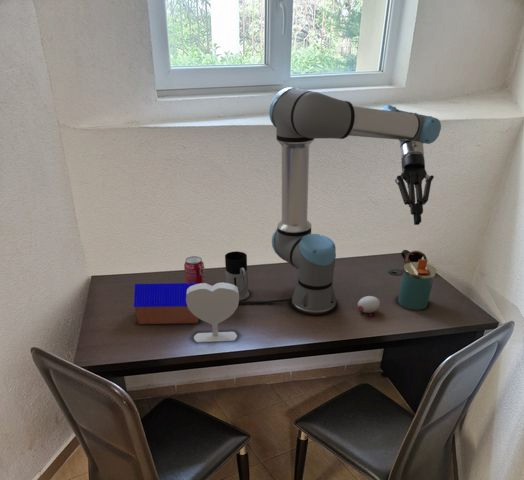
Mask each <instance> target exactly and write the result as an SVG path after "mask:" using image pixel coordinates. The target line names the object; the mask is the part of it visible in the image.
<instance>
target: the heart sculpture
mask: <svg viewBox="0 0 524 480" xmlns="http://www.w3.org/2000/svg"><path fill="white" fill-rule="evenodd" d="M239 301H240V300H239V292H238V287H236V286H235V285H233V284H229V283H226V282H217V283H215V284H213V285H211V284H209V283H206V282H205V283H200V284H195V285H193V286H190V287H189V288H188V289H187V294H186V303H187V306H188V309H189V310H190V311H191V312H192V314H193V315H194V316H196V317H198V318H199V319H198V320H201V321H203V322H205V323H207V324H210V325H211V332H197V333H196V334H194V336H193V339H194V341H195V343H208V342H212V343H213V342H233V341H234V342H235V341H236V339H237V338H238V335H237V333H236V332H235V331H219V325H218V324H220V323H222V322H224V321H226V320H227V319H229V318H230V317H231V316H232V315H234V313H235V312H236V310H237V309H238V307H239V304H238V303H239Z"/></svg>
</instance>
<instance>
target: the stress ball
mask: <svg viewBox="0 0 524 480" xmlns="http://www.w3.org/2000/svg"><path fill="white" fill-rule="evenodd" d="M380 306H381V302H380V299H379V298H377V297H376V296H372V295H367V296H363V297H361V298H360V299H358V302H357V308H358V310H359V311H360V312H362V313H365V314H369V317H371V316H373V314H372V313H374V312H376V311H377V310H378V309H379V308H380Z"/></svg>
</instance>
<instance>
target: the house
mask: <svg viewBox="0 0 524 480" xmlns="http://www.w3.org/2000/svg"><path fill="white" fill-rule="evenodd" d="M195 284H198V283H186V282H185V283H184V282H179V283H178V282H177V283H175V282H174V283H135V284H134V296H133V297H134V298H133V307H134V308H135V313H136V318H137V323H138V325H158V324H159V325H161V324H163V325H164V324H165V325H167V324H168V325H169V324H199V320H200V319H199V318H198V317H196V316H194V315H193V314H192V312H191V311H190V310H189V309H188V306H187V303H186V294H187V289H188V288H189V287H190V286H193V285H195Z"/></svg>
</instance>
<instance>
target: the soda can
mask: <svg viewBox="0 0 524 480" xmlns="http://www.w3.org/2000/svg"><path fill="white" fill-rule="evenodd" d="M183 268H184V278H185V283H198V284H200V283H206V272H205V271H206V270H205V264H204V261H203V259H202V258H201V257H200V256H197V255H191V256H188V257H186V258H185V262H184V264H183Z"/></svg>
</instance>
